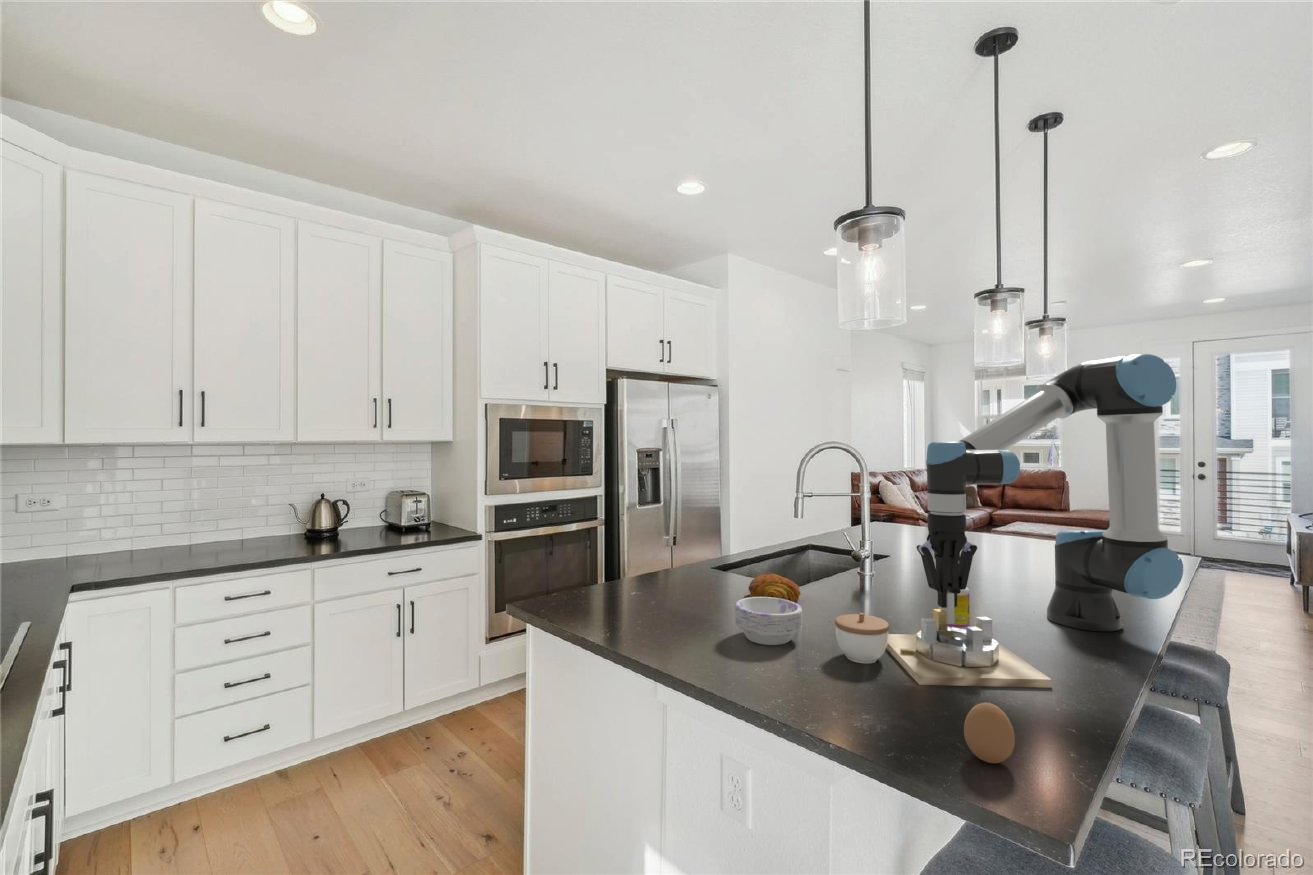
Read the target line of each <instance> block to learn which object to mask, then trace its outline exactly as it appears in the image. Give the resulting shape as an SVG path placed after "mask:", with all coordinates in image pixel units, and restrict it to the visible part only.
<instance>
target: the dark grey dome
mask: <svg viewBox="0 0 1313 875" xmlns="http://www.w3.org/2000/svg"><path fill="white" fill-rule="evenodd" d="M939 642H940V643H945V644H949V645H954V646H959V647H966V635H965V634H960V633H953V632H946V633H941V634H940V635H939Z"/></svg>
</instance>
